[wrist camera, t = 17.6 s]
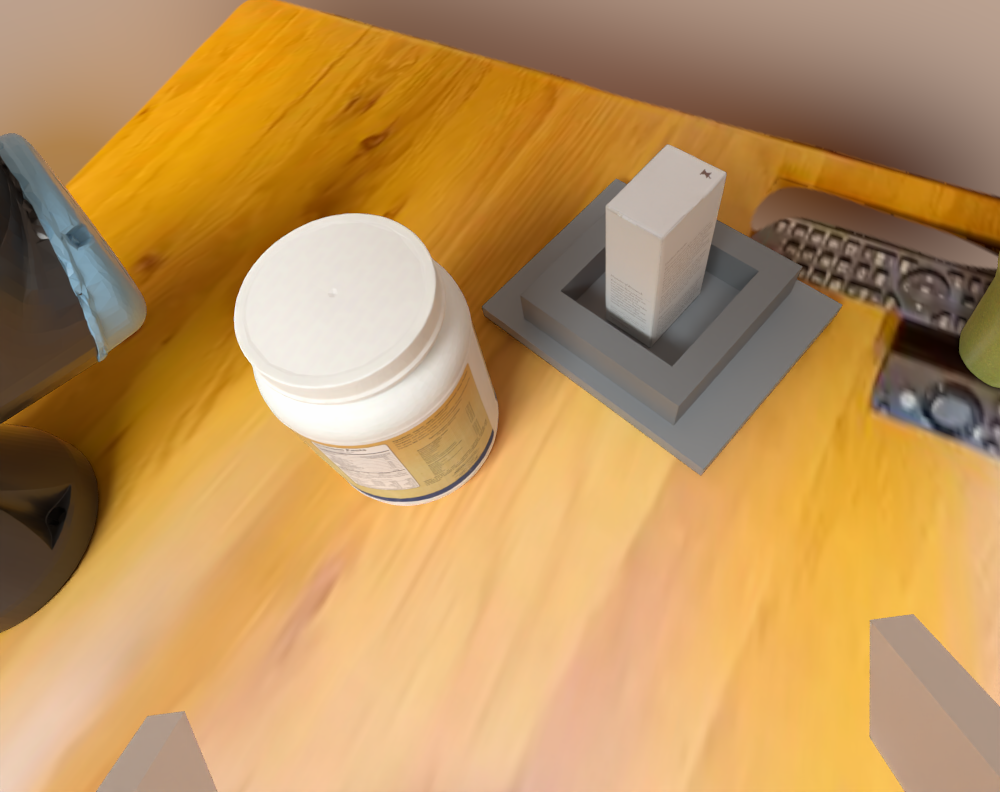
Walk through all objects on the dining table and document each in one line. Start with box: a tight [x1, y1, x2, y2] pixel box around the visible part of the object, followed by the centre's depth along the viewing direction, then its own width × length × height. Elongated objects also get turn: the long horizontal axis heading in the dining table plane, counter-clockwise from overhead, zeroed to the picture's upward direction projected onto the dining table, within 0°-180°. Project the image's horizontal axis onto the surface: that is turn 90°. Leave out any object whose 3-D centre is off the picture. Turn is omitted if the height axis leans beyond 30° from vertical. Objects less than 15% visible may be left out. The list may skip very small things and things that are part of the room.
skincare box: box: [606, 144, 727, 347], centre depth 42 cm, size 6×4×12 cm
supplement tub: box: [234, 213, 499, 506], centre depth 39 cm, size 12×12×17 cm
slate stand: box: [482, 179, 842, 475], centre depth 46 cm, size 20×16×4 cm
